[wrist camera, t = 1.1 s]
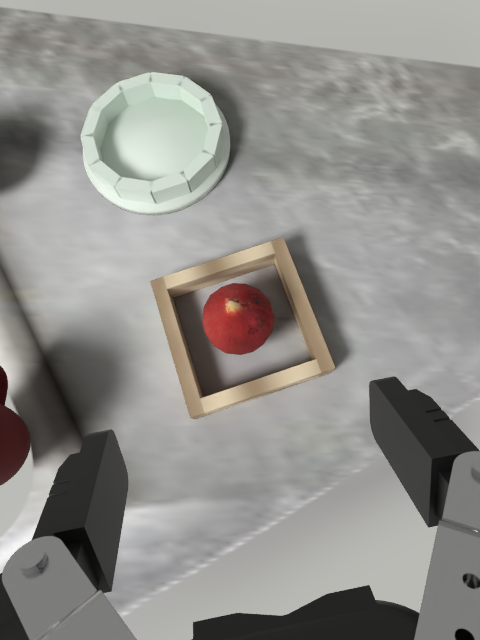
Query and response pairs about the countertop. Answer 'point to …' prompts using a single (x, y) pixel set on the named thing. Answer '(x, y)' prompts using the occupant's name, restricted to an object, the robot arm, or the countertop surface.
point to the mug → (11, 436)
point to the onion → (238, 318)
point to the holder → (220, 272)
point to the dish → (155, 144)
